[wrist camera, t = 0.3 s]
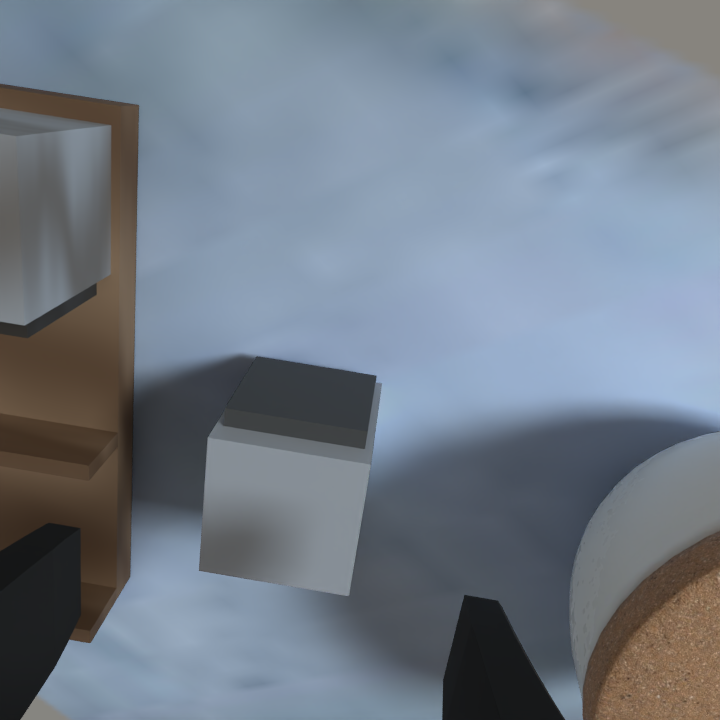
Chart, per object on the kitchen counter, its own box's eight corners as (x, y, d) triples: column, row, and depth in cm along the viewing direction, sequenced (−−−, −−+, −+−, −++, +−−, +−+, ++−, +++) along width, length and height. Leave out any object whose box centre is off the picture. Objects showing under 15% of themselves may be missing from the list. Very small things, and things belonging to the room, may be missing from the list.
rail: (130, 576, 25) (50, 709, 19) (7, 555, 25) (-105, 682, 20) (139, 105, 19) (27, 111, 13) (-23, 80, 19) (-196, 77, 14)
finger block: (363, 492, 23) (348, 596, 18) (244, 473, 23) (199, 570, 18) (384, 367, 21) (373, 446, 16) (255, 347, 21) (208, 419, 16)
